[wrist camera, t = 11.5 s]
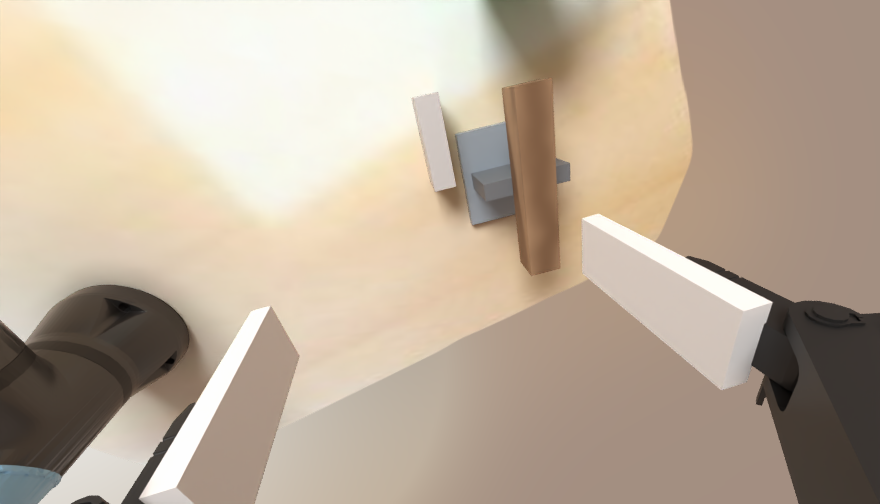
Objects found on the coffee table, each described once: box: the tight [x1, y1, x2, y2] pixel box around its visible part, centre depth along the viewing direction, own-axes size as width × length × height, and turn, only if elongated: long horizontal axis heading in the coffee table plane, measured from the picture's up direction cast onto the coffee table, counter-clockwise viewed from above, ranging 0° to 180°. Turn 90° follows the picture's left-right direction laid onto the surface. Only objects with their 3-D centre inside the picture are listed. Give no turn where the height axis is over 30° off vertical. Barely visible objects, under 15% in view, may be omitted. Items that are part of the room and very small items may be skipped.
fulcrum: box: [455, 122, 570, 225], centre depth 39 cm, size 12×12×7 cm
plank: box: [502, 78, 560, 276], centre depth 34 cm, size 4×20×4 cm, turn 12°
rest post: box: [411, 92, 456, 192], centre depth 37 cm, size 2×10×5 cm, turn 12°
